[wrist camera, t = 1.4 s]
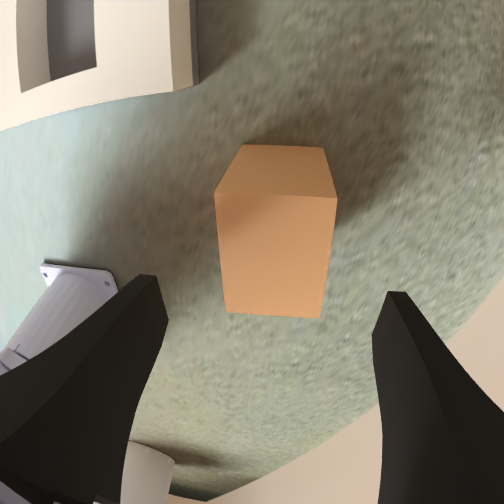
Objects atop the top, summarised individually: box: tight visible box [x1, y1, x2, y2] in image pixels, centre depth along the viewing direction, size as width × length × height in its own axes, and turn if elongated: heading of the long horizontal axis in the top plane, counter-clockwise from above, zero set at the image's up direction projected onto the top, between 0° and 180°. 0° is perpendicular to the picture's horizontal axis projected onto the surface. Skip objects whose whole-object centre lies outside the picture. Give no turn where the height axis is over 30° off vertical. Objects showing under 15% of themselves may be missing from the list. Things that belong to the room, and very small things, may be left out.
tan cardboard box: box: [214, 145, 338, 318], centre depth 14 cm, size 6×4×6 cm
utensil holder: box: [93, 441, 175, 504], centre depth 46 cm, size 15×15×18 cm
